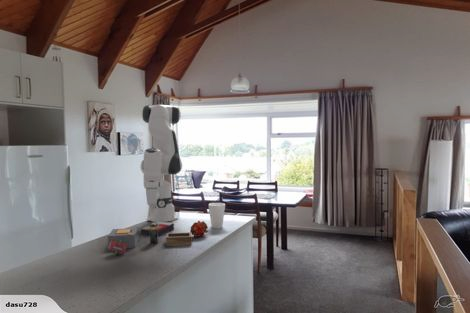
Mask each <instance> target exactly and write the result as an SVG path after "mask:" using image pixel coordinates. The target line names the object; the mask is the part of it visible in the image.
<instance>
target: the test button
mask: <svg viewBox="0 0 470 313" xmlns="http://www.w3.org/2000/svg"><path fill="white" fill-rule="evenodd" d="M120 229H121V230H118V231H117V232H116V234H128V233H131V229H129V228H120Z"/></svg>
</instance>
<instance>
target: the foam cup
mask: <svg viewBox="0 0 470 313" xmlns="http://www.w3.org/2000/svg"><path fill="white" fill-rule="evenodd" d="M225 209H226V203H223V202H210V203H208V210H209V219H210V225H211V228H212V229H222V228H223V224H224V216H225Z"/></svg>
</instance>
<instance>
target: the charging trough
mask: <svg viewBox="0 0 470 313" xmlns="http://www.w3.org/2000/svg"><path fill="white" fill-rule="evenodd" d="M165 234H166V235H165V247H173V246H174V247H175V246H192V244H193V243H192V240H193V239H192V237H193V235H192V233H191V232H167V233H165Z"/></svg>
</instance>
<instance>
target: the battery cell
mask: <svg viewBox="0 0 470 313" xmlns="http://www.w3.org/2000/svg"><path fill="white" fill-rule="evenodd" d="M155 223H156V222H151V223H150V224H149V234H150V235H149V244H150V245H156V244H159V236H158V224H155Z"/></svg>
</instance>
